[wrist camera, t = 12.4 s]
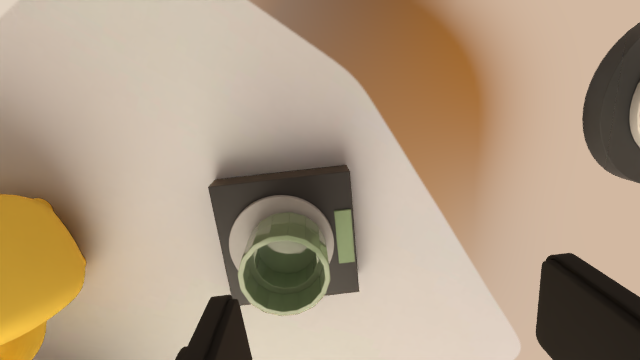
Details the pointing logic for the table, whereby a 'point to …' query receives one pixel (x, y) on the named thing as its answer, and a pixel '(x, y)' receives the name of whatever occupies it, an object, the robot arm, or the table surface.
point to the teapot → (33, 273)
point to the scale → (280, 197)
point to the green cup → (285, 265)
